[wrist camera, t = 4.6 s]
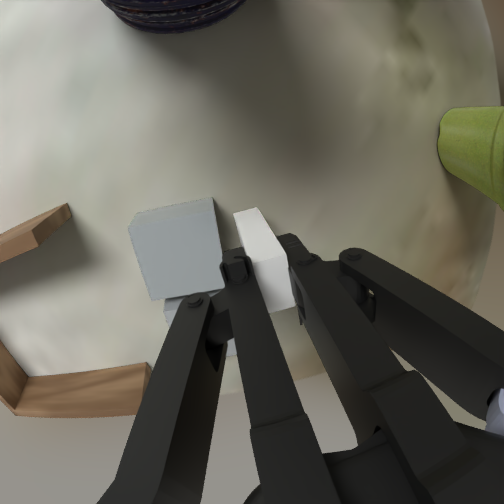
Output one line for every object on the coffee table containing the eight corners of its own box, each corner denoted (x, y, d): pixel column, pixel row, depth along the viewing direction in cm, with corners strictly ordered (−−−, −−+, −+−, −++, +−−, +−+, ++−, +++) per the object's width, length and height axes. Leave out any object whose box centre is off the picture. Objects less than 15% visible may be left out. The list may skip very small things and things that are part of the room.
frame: (-49, 263, 15) (-77, 289, 11) (66, 203, 16) (31, 229, 12) (28, 383, 23) (15, 415, 18) (150, 369, 24) (146, 413, 19)
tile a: (138, 211, 18) (127, 227, 15) (212, 196, 18) (214, 210, 16) (157, 276, 20) (151, 300, 17) (224, 264, 21) (228, 287, 18)
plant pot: (493, 155, 20) (558, 179, 12) (445, 212, 22) (515, 253, 14) (460, 73, 16) (538, 78, 8) (404, 126, 18) (495, 144, 10)
